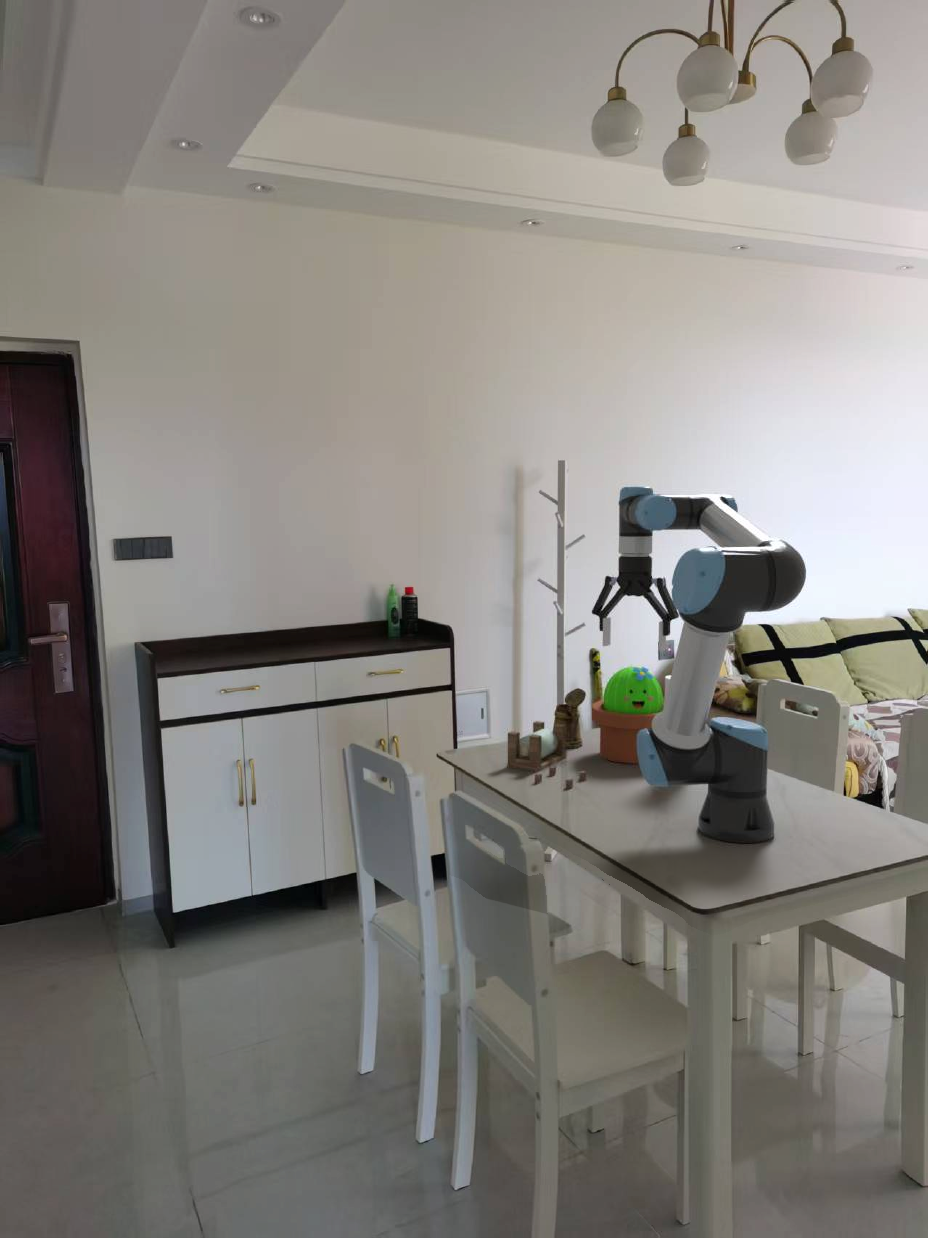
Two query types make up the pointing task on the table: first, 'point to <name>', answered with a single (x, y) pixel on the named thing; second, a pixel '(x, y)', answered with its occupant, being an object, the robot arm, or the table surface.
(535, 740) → the roll holder
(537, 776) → the wooden cubes
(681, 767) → the robot arm
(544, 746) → the paper roll
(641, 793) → the table surface
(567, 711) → the wooden mug
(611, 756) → the potted cactus
